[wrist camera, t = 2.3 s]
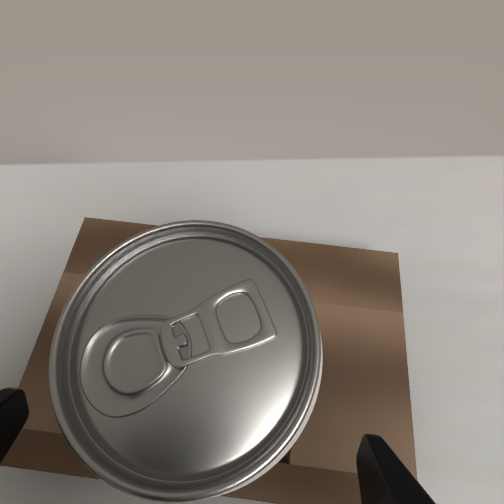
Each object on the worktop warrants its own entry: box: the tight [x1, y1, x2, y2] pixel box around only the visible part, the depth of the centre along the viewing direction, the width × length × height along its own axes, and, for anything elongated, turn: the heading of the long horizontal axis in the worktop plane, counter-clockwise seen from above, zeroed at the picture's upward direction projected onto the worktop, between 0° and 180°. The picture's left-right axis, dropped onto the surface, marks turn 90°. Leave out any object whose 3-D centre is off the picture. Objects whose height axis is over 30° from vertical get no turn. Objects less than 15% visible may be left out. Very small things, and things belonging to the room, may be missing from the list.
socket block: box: [0, 217, 417, 504], centre depth 16 cm, size 12×18×3 cm, turn 83°
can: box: [49, 220, 323, 502], centre depth 12 cm, size 6×6×12 cm
